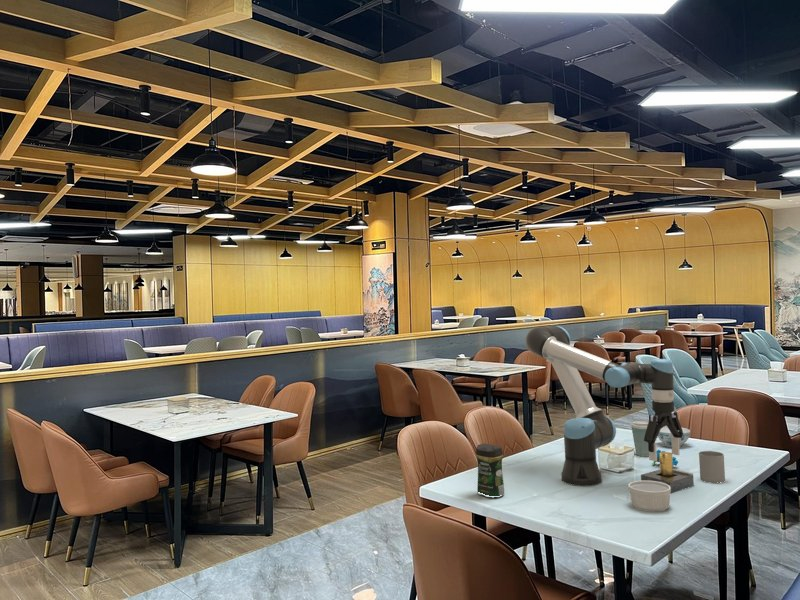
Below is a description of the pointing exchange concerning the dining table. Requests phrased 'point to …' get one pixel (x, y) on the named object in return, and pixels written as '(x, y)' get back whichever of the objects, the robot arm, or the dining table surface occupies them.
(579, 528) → the dining table surface
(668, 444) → the chinaware
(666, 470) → the brass cylinder peg
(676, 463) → the gear
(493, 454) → the coffee jar
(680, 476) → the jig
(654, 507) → the ramekin
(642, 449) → the disposable coffee cup
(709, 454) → the cup
